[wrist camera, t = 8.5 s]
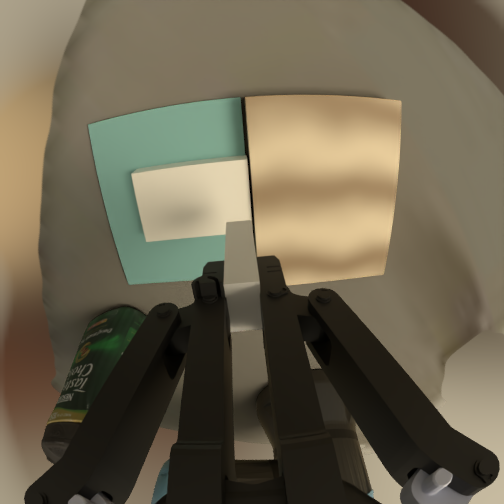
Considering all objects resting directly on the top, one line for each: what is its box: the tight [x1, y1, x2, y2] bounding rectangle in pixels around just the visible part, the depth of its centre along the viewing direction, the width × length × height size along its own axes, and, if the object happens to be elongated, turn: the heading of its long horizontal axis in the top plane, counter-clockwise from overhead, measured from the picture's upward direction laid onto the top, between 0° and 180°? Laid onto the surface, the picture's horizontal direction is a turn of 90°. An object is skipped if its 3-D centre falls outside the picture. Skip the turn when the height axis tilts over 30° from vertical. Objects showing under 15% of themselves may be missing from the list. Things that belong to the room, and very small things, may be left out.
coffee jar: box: [42, 307, 147, 464], centre depth 24 cm, size 10×8×19 cm
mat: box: [88, 97, 245, 285], centre depth 24 cm, size 16×13×1 cm
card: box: [131, 155, 253, 242], centre depth 23 cm, size 6×9×2 cm, turn 94°
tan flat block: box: [244, 95, 401, 285], centre depth 24 cm, size 16×12×2 cm
